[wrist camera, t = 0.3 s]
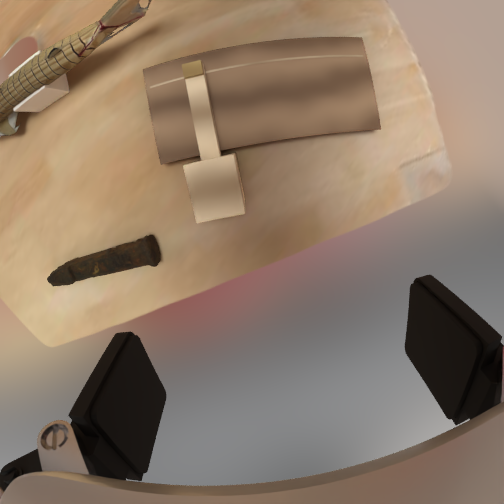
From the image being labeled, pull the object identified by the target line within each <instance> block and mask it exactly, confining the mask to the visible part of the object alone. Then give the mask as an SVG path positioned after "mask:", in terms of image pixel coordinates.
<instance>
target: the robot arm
mask: <svg viewBox="0 0 504 504" xmlns="http://www.w3.org/2000/svg"><path fill="white" fill-rule="evenodd" d="M501 339H502V336H501V335H500V334H499V333H498V332H497V331H495V330H494V329H493V328H492V327H491V326H490V325H489V324H488V323H487V322H486V321H485V320H483V319H482V318H481V317H480V316H479V315H478V314H477V313H476V312H475V311H474V310H472V309H471V308H470V307H469V306H468V305H467V304H466V303H464V302H463V301H462V300H461V299H459V297H457V296H456V295H455V294H454V293H453V292H451V291H450V290H449V289H448V288H447V287H445V286H444V285H443V284H442V283H441V282H439V281H438V280H437V279H435V278H434V277H433V276H432V275H426V276H423V277H419V278H416V279H415V280H414V283H413V284H411V286H410V297H409V310H408V321H407V332H406V340H405V351H406V354H407V356H408V357H409V359H410V360H411V362H412V363H413V365H414V366H415V368H416V370H417V371H418V372H419V374H420V376H421V377H422V379H423V380H424V382H425V383H426V385H427V386H428V388H429V390H430V391H431V393H432V394H433V396H434V397H435V399H436V401H437V402H438V404H439V405H440V407H441V409H442V410H443V412H444V414H445V415H446V417H447V418H448V419H452V420H453V422H454V423H455V425H458V424H460V423H462V422H464V421H465V420H467V419H470V420H469V421H467V422H465V423H463V424H462V425H459V426H457V427H455V428H453V429H451V430H449V431H447V432H445V433H442V434H441V435H438V436H436V437H434V438H432V439H429V440H427V441H424V442H422V443H420V444H417V445H415V446H412V447H410V448H407V449H405V450H402V451H399V452H396V453H393V454H391V455H388V456H385V457H382V458H379V459H375V460H372V461H369V462H365V463H362V464H358V465H355V466H351V467H347V468H344V469H339V470H336V471H331V472H327V473H322V474H317V475H312V476H307V477H301V478H295V479H288V480H282V481H274V482H265V483H256V484H241V485H220V486H186V485H167V484H154V483H144V482H134V481H126V478H127V479H130V480H138V481H142V476H143V473H146V472H147V470H148V467H149V463H150V459H151V455H152V451H153V447H154V443H155V439H156V435H157V431H158V427H159V423H160V420H161V416H162V412H163V408H164V405H165V401H166V391H165V389H164V387H163V385H162V383H161V381H160V379H159V377H158V375H157V373H156V372H155V369H154V367H153V365H152V363H151V361H150V359H149V357H148V355H147V353H146V351H145V349H144V347H143V344H142V343H141V340H140V338H139V337H138V336H137V335H134V334H133V333H132V332H123V333H116V334H115V336H114V337H113V339H112V340H111V342H110V344H109V345H108V347H107V348H106V350H105V352H104V354H103V355H102V357H101V358H100V360H99V362H98V364H97V365H96V367H95V369H94V371H93V372H92V374H91V375H90V377H89V379H88V381H87V382H86V384H85V386H84V388H83V389H82V392H81V393H80V395H79V397H78V398H77V400H76V402H75V404H74V406H73V408H72V410H71V411H70V413H69V417H70V418H71V419H72V422H71V424H69V423H68V422H66V421H63V420H56V421H53V422H51V423H49V424H47V425H46V426H45V427H44V428H43V429H42V430H41V431H40V433H39V435H38V438H37V447H38V449H36V450H34V451H32V452H30V453H28V454H26V455H24V456H22V457H20V458H18V459H16V460H14V461H12V462H10V463H8V464H7V465H5V466H4V467H3V468H2V470H1V472H0V504H504V345H503V344H502V343H501Z"/></svg>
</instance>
